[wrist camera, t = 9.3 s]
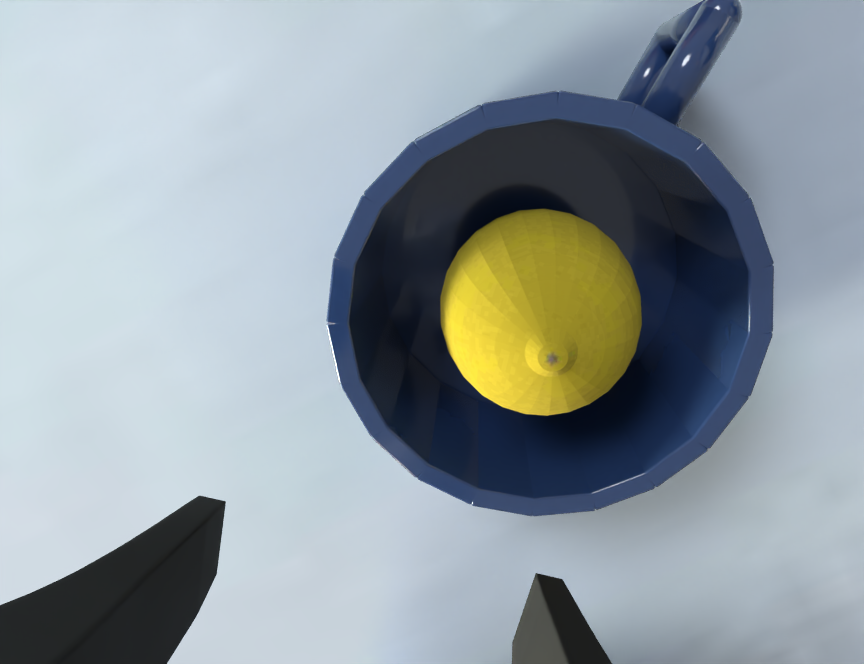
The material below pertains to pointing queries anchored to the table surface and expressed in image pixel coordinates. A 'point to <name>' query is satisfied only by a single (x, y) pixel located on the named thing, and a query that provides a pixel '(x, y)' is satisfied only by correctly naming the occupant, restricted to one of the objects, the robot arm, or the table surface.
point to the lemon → (541, 312)
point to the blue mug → (616, 217)
